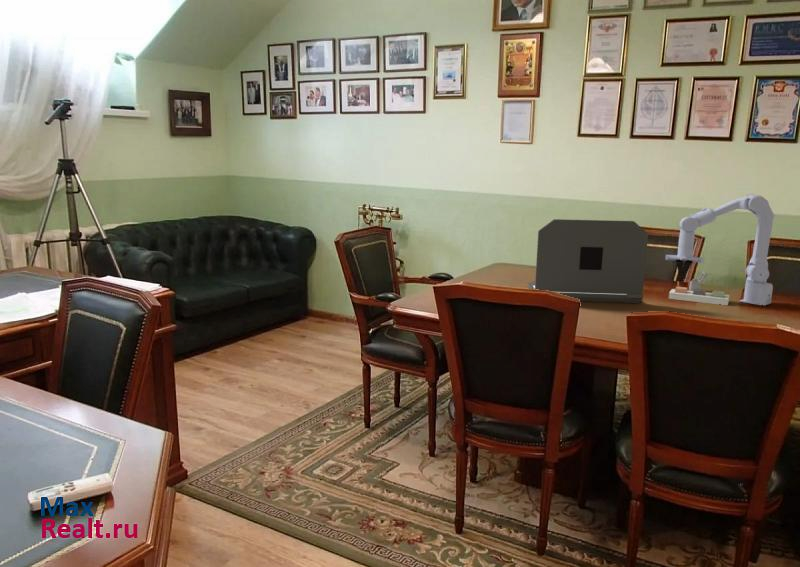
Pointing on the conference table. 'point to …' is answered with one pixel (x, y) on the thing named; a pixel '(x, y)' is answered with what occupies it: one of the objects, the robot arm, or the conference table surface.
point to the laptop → (592, 260)
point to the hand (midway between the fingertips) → (682, 278)
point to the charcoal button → (699, 292)
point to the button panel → (699, 297)
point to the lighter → (696, 282)
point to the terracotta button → (681, 290)
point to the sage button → (718, 294)
